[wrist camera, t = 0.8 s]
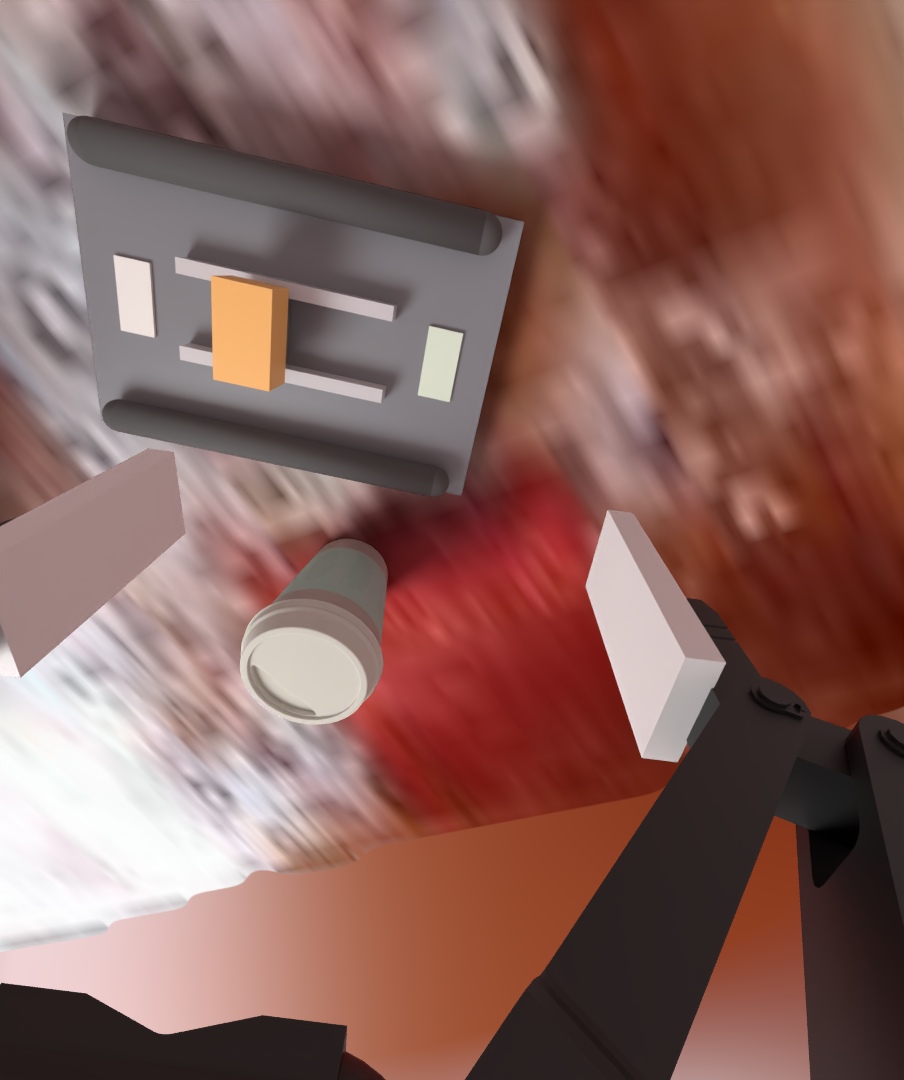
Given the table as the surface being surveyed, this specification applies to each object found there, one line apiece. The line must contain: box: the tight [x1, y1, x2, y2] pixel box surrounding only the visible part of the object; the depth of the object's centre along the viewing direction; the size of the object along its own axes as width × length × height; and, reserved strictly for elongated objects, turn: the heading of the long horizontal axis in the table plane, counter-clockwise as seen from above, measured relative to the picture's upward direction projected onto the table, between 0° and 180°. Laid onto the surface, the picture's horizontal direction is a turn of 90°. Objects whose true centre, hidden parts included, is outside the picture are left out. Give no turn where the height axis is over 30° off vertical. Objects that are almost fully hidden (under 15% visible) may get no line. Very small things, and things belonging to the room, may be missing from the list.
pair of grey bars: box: [67, 116, 502, 497], centre depth 29 cm, size 22×16×2 cm
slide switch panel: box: [63, 113, 524, 496], centre depth 30 cm, size 24×16×3 cm, turn 79°
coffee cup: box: [240, 539, 388, 724], centre depth 35 cm, size 8×8×12 cm
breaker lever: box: [211, 275, 291, 391], centre depth 28 cm, size 3×5×4 cm, turn 168°
